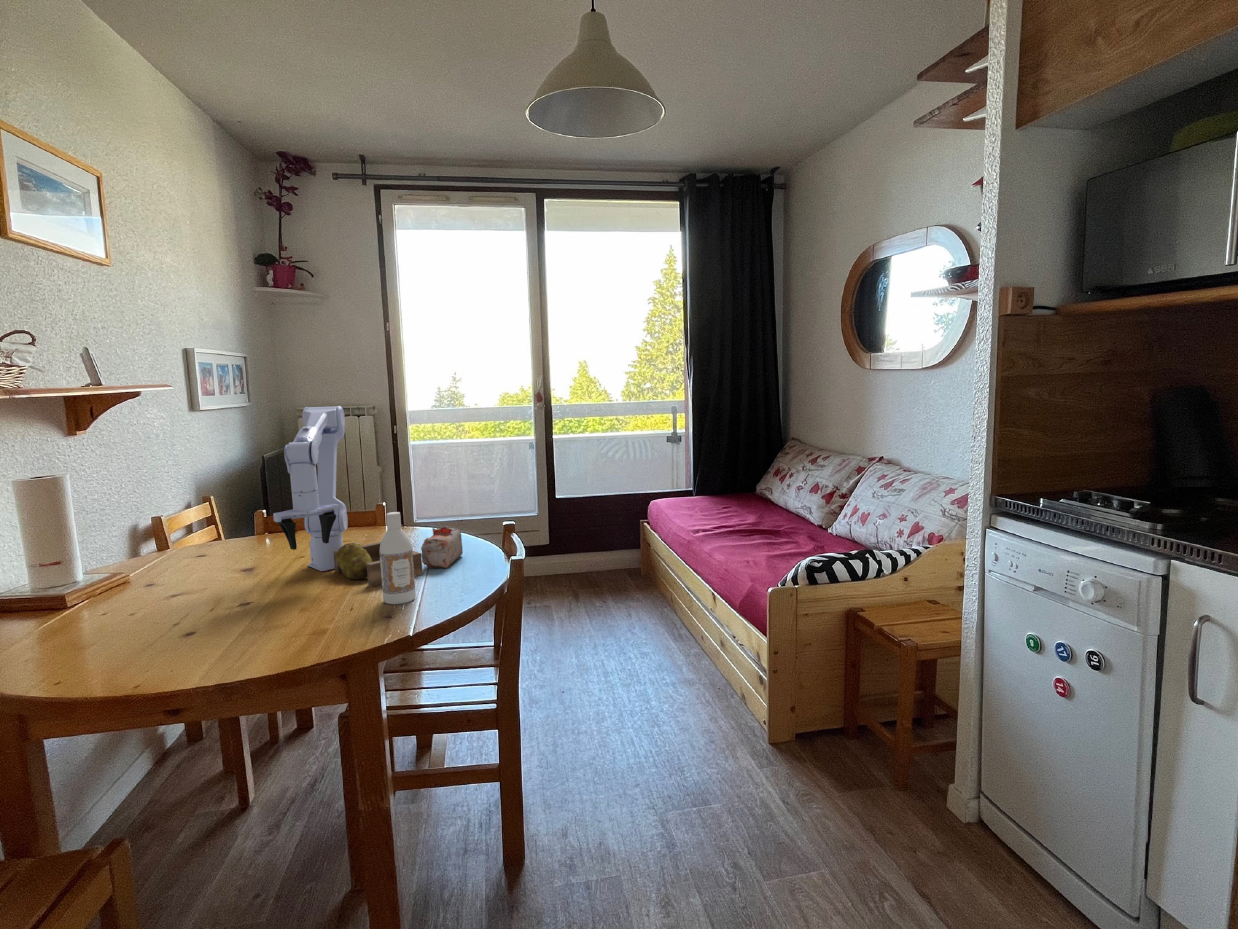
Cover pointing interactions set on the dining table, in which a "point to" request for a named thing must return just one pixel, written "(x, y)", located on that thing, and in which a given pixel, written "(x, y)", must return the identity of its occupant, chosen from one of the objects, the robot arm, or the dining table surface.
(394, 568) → the bath foam
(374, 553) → the cradle
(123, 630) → the dining table surface
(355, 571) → the potato
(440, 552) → the food item
